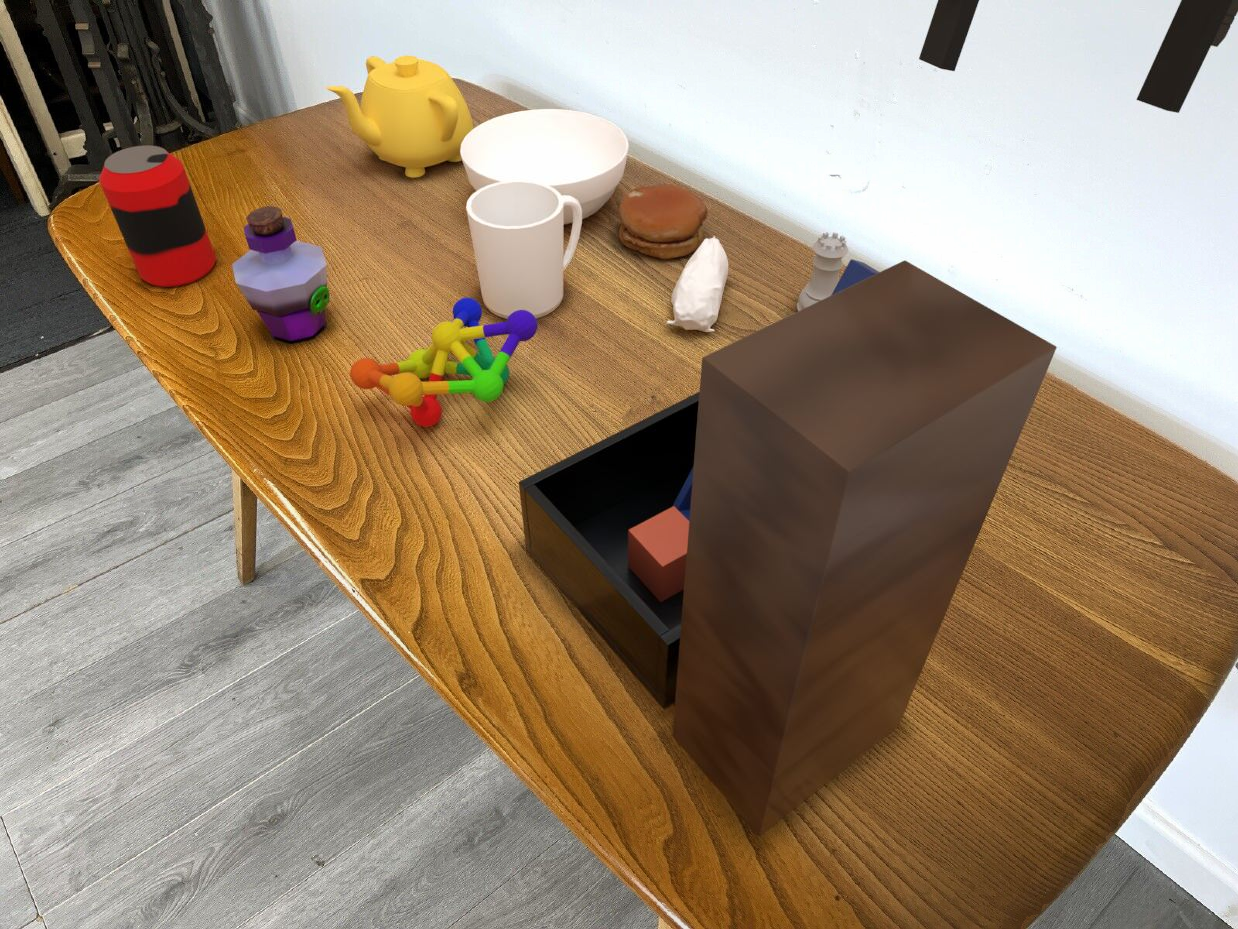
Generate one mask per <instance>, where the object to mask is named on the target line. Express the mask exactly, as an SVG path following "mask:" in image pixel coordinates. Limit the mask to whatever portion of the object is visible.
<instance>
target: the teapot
mask: <svg viewBox="0 0 1238 929" xmlns="http://www.w3.org/2000/svg"><path fill="white" fill-rule="evenodd" d="M365 67H366V72H367V74H368V75H367V78H366V79H365V80H366V81H365V84H364V86H363V90H362V94H361V98H360V105H359V102H358V100H357V97H356V96H355V94H354V92H353V91H352V90H351V89H349V88H348V87H346V86H343V85H342V86H341V85H331V86H330V85H329V86H326V87H325V89H326V90H328V91H330V92H332V93H333V94H336V95H337V97H339V98H340V99H341V102H342V103H343V105H344V108H345V112H346V115H347V116H346V117H347V119H348V122H349V125H350V128H351V130H352V132H353V133H354V135H356V137H358V139H360V140H361V141H363V142H364V143H365V144H366V145H367V146H368V147H369V149H370V150H372V152H374V154H376V156H378V159H379V160H381V161H385V162H386V163H389V164H392V165H395V166H399V167H403V168H405V172H404V174H405V176H406V177H409V178H420V177H423V176H424V175H425V174H426V169H425V168H428V167H431V166H435V165H438V164H441V163H444V162H446V161H447V162H450V163H457V162H461V161H462V158H461V155H460V150H461V143H462V142H463V140H464V138H465V136H466V135H467V134H468V133H469V132H470V131H471V130H473V129H474V123H473V119H472V115H471V111H470V109H469V107H468V105H467V101H466V100H465V97H464V96H463V95H462V92H461V91H460V89H459V88H458V85H457V84H456V83H455V81H454V80H453V78H452V77H451V75H450V74H449V72H448V71H447V70H445V68H443V67H442V66H440V65H439V64H437V63H435V62H432V61H430V60H426V59H421V58H418V57H417V56H413V55H402V56H399V57H396V58H394V60H393V61H392V62H386V61H384V60H383V59H382V58H380V57H378V56H374V55H372V56H368V57H367V58H366V61H365Z"/></svg>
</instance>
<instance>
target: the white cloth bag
mask: <svg viewBox="0 0 1238 929" xmlns="http://www.w3.org/2000/svg"><path fill="white" fill-rule="evenodd" d="M728 274H729V261H728V255H727V253H726V252H725V249H724V247H723V245H722V244H721V242H720V240H719V238H716V236H715V235H713V237H711V238H703V241H702V243H701V244H700V246H699V247H698V248H697V249H696V250H695V251H694V252H693V254H692V255H691V257H690V258H689V259H688V261H687V262H686V264H685V266H684V268H683V270H682V272H681V273H680V276H679V278H678V280H677V281H676V283H675V286H674V288H673V290H672V293H671V299H670V303H671V305H672V306H673V307H672V312H673V317H674V320H667V321H666V324H667V325H672V326H675V327H680V328H682V329H684V330H686V331H693V330H694V331H695V330H697V331H700V332H704V333H713V332H715V329H714V328H711V327H712V326H713V325H714V324H715V323H716V322H717V320H718V317H719V311H720V308H721V306H722V305H721V304H722V301H723V295H724V292H725V286H726V283H727V280H728Z"/></svg>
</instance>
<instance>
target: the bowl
mask: <svg viewBox="0 0 1238 929" xmlns="http://www.w3.org/2000/svg"><path fill="white" fill-rule="evenodd" d="M629 151H630V144H629V139H628V137H627V135H626V134H625V132H624V131H623V129H621V128H620V127H619V126H618V125H617V124H615V123H613V122H611V121H610V120H608V119H606V118H603V117H600V116H598V115H595V114H592V113H588V112H584V111H579V110H573V109H572V110H571V109H561V108H535V109H526V110H520V111H515V112H510V113H505V114H502V115H499V116H497V117H493V118H490V119H488V120H487V121H483V122H482V123H480V124H479V125H477V126H475V127H473V130H471V131H470V132H469V133H468V134H467V135H466V136H465V138H464V140H463V142H462V143H461V150H460V155H461V158H462V160H461V161H462V163H463V164H462V165H463V167H464V170H465V172H466V176H467V179H468V181H469V184H470V185H471V186H472V188H473V189H474V190H475V192H476V191H477V190H479V189H481V188H483V187H485V186H487V185H490V184H494V183H497V182H503V181H510V180H527V181H536V182H539V183H543V184H546V185H548V186H550V187H552V188H554V189H556V190H557V191H558V192H559V193H560V194H561V196H563V195H567V196H572V197H573V198H575V199H577V200H578V201H579V204H580V206H581V209H582V220H584V219H587V218H589V217H590V216H593V215H594V214H596V213H597V212H598V211H599V210H601V209H602V208H603V206H604V205H605V204H606V203H607V202H608V201H609V200H610V199H611V197H612V196H613V195H614V193H615V191H616V189H617V188H616V187H617V186H618V185H619V183H620V182H621V180H623V178H624V174H625V169H626V164H627V160H628V155H629ZM568 224H573V210H572V207H570V206H569V205H564V207H563V225H568Z"/></svg>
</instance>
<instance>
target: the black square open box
mask: <svg viewBox="0 0 1238 929" xmlns="http://www.w3.org/2000/svg"><path fill="white" fill-rule="evenodd" d="M699 392H700V391H698V392H696V393H694V394H692V395H689V396H688V397H686V398H683V399H681V400H679V401H678V402H675V403H674V404H672V405H670V406H667V407H666V408H664V409H662V410H660V411H658V412H656V413H654V414H651V415H650V416H648V417H646V418H644V419H642V420H640V421H638V422H636V423H634V424H631V425H629V426H628V427H626V428H624V429H622V430H620V431H618V432H616V433H613V434H612V435H610V436H608V437H606V438H604V439H602V440H600V441H598V442H596V443H594V444H592V445H589V446H588V447H586V448H584V449H581V450H579V451H578V452H576V453H574V454H572V455H569V456H568V457H566V458H564V459H562V460H560V461H557V462H555V463H554V464H551V465H549V466H548V467H545V468H544V469H541V470H540V471H538V472H535V473H534V474H531V475H530V476H527V477H525V478H523V479H522V480H520V481H518V489H519V499H520V508H521V517H522V525H523V533H524V543H525V550H526V552H527V553H528V555H530V556H531V558H532V559H533V560H534V561H535V562H536V563H537V565H538V566H539V567H540V568H541V569H542V570H543V571H544V572H545V574H546V575H547V576H548V578H550V580H551V581H552V582H553V583H554V584H555V585H556V586H557V588H558V589H560V591H561V592H562V593H563V595H564V596H565V597H566V598H567V599H568V601H569V602H570V603H571V604H572V605H573V606H574V608H576V610H577V611H578V612H579V613H580V614H581V616H582V617H583V618H584V619H585V620H586V621H587V623H588V624H589V625H590V626H591V627H592V628H593V629H594V631H595V632H596V633H597V634H598V635H599V636H600V638H602V640H603V641H604V642H605V644H606V645H608V647H609V648H610V649H611V651H612V652H614V654H615V655H616V656H617V657H618V659H619V660H620V661H621V662H622V663H623V664H624V666H626V668H627V669H628V670H629V671H630V672H631V674H632V675H633V676H634V677H635V678H636V679H637V680H638V681H639V683H640V684H641V685H642V686H643V688H645V690H646V691H647V692H648V693H649V694H650V696H651V697H652V698H653V699H654V700H655V701H656V703H658V704H659V706H660V707H661V709H662V710H664V711H665V710H666V709H668V708H669V707H670V706H672V705H673V704H674V705H675V697H676V685H677V672H678V659H679V646H680V634H681V621H682V608H683V596H684V589H683V590H682V591H680V592H678V593H676V594H675V595H673V596H671V597H669V598H668V599H666V600H664V601H662V602H660V601H659V600H658V599H657V598H656V597H655V596H654V594H653V593H652V592H651V591H650V590H649V589H648V588H647V587H646V585H645V584H644V583H643V582H642V581H641V580H640V579H639V578H638V577H637V575H636V574H635V573H634V572H633V571H632V570H631V569H630V568H629V566H628V530H629V529H631V528H633V527H635V526H637V525H639V524H641V523H642V522H644V521H646V520H648V519H650V518H652V517H654V516H656V515H658V514H660V513H662V512H663V511H665V510H667V509H669V508H671V507H672V506H673V504H674V502H675V500H676V499H677V497H678V495H679V493H680V491H681V489H682V487H683V485H684V483H685V481H686V480H687V478H688V476H689V474H690V472H691V470H692V468H693V466H694V455H695V443H696V430H697V417H698V404H699Z"/></svg>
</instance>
